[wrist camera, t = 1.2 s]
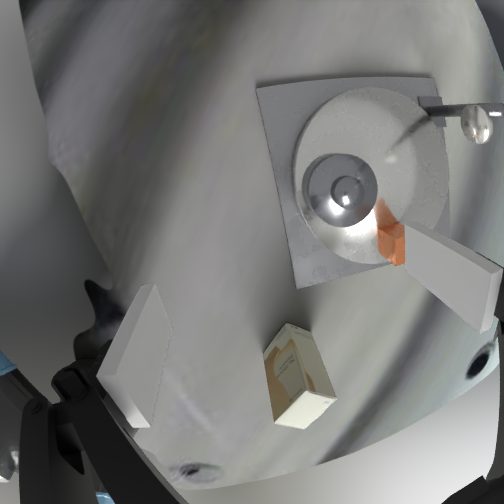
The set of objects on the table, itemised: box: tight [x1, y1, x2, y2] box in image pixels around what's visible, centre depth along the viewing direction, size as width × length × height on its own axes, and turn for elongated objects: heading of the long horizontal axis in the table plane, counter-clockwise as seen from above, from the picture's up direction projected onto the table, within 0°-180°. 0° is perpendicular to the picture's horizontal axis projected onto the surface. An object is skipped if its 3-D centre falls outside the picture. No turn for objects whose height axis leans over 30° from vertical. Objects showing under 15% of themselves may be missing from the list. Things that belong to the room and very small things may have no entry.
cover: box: [302, 153, 378, 228], centre depth 27 cm, size 7×7×4 cm
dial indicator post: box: [418, 96, 504, 144], centre depth 23 cm, size 4×6×13 cm
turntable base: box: [256, 77, 450, 289], centre depth 31 cm, size 23×23×1 cm
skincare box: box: [263, 323, 337, 430], centre depth 33 cm, size 6×4×12 cm
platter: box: [293, 87, 449, 266], centre depth 28 cm, size 20×20×5 cm
